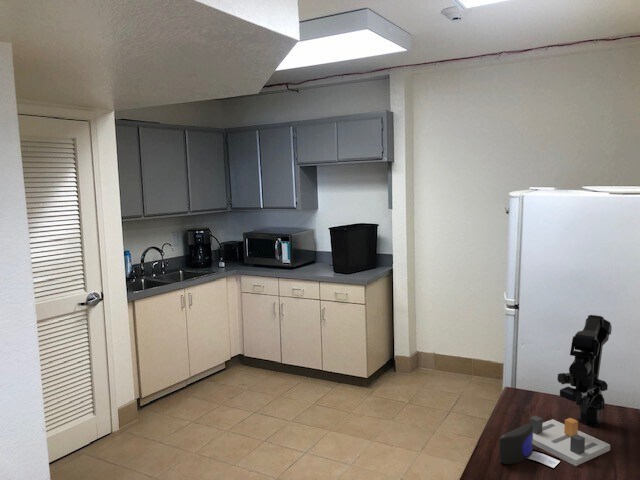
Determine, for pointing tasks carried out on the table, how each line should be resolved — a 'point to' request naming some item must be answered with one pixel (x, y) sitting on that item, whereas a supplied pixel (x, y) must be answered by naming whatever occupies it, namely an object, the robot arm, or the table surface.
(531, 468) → the table surface
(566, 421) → the block
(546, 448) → the breaker panel
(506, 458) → the leaning round-cornered charcoal block
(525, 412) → the table surface
